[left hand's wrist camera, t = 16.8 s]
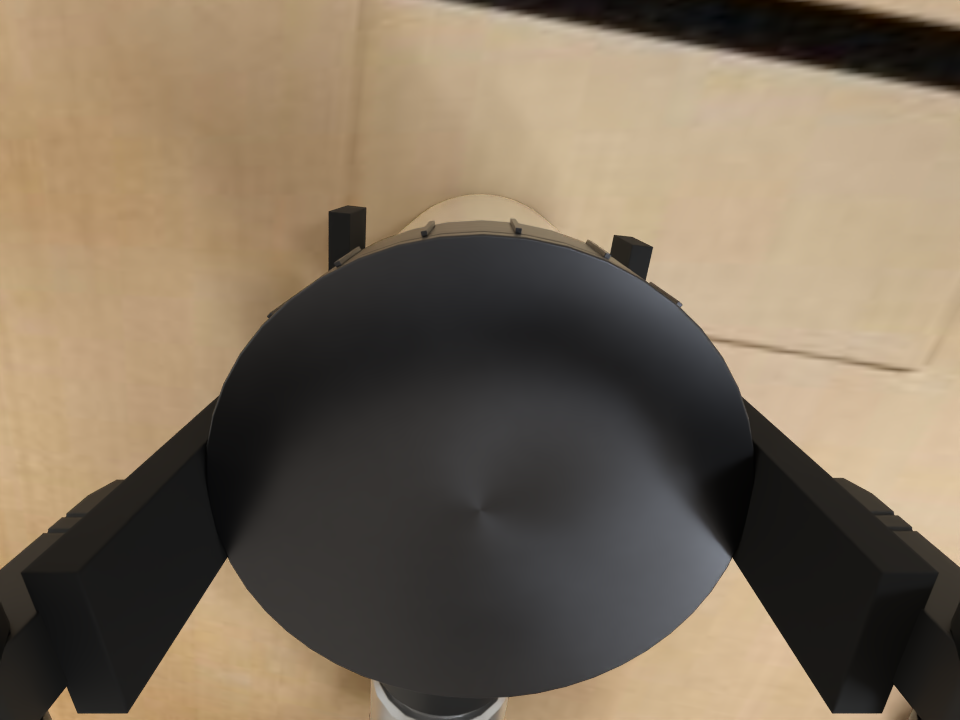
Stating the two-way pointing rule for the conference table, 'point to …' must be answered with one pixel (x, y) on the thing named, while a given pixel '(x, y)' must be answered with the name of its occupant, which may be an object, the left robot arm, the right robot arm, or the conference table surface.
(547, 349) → the lid
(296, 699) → the conference table surface
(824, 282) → the conference table surface
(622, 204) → the conference table surface
